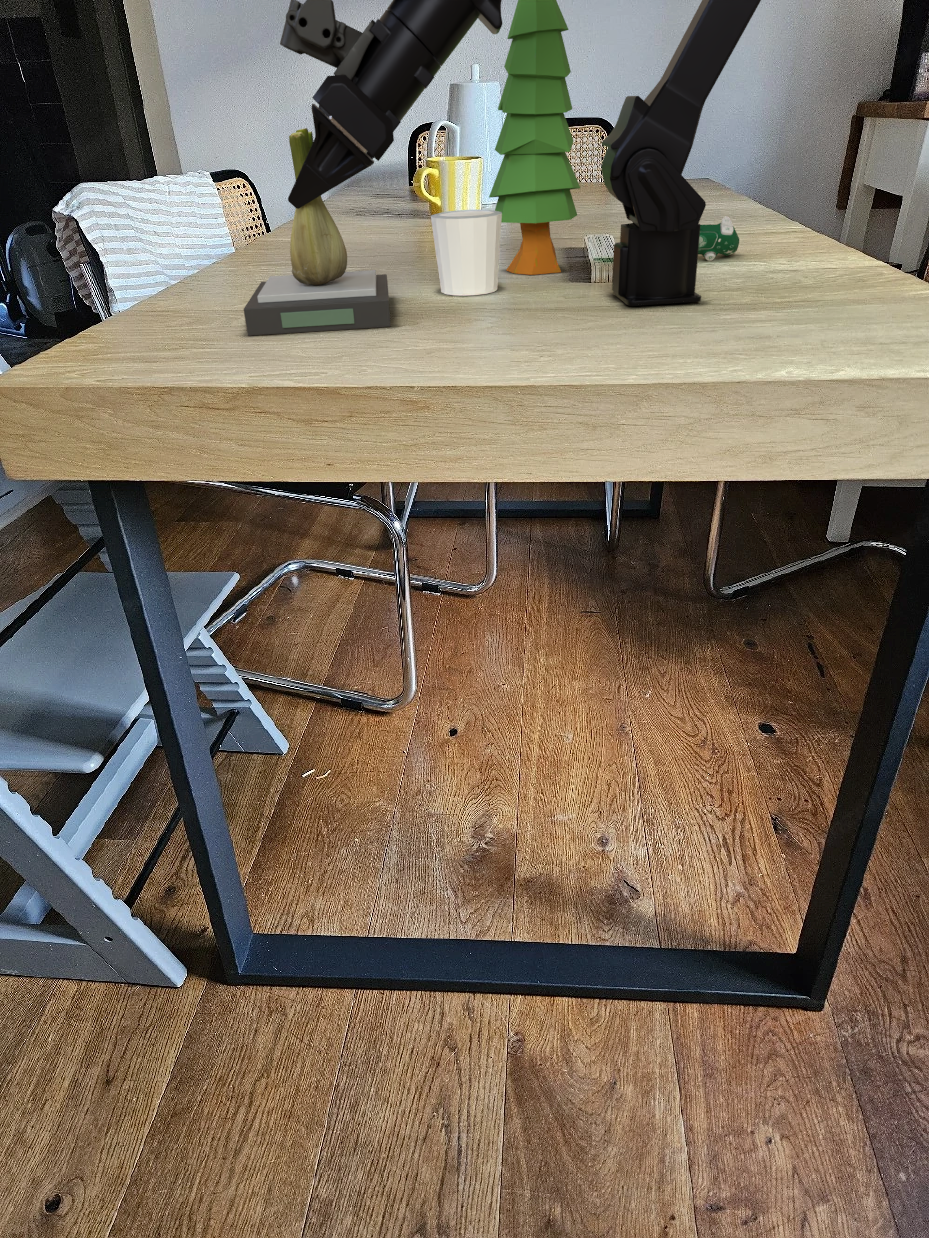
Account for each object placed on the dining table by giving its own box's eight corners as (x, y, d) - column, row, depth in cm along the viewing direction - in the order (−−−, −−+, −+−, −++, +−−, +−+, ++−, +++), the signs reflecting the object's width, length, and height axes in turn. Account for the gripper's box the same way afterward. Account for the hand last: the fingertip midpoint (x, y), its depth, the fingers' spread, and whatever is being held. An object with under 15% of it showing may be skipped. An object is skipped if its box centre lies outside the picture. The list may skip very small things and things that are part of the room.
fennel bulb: (318, 275, 82) (298, 127, 76) (363, 276, 80) (346, 124, 74) (280, 288, 77) (255, 132, 71) (327, 290, 75) (305, 129, 69)
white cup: (497, 296, 84) (495, 216, 81) (427, 297, 86) (422, 218, 82) (509, 283, 90) (507, 207, 86) (443, 284, 91) (439, 209, 88)
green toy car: (651, 276, 100) (654, 241, 94) (652, 246, 101) (656, 210, 95) (736, 274, 98) (744, 239, 93) (736, 245, 99) (745, 208, 94)
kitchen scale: (388, 298, 86) (386, 267, 85) (390, 327, 75) (387, 292, 73) (264, 305, 85) (260, 275, 84) (247, 336, 74) (241, 301, 73)
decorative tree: (512, 280, 92) (506, -87, 76) (476, 268, 99) (464, -68, 84) (594, 270, 95) (604, -85, 79) (553, 259, 102) (555, -67, 87)
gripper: (337, -30, 75) (231, 127, 80) (326, -67, 59) (194, 132, 64) (436, 73, 79) (329, 215, 85) (451, 65, 63) (318, 241, 68)
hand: (295, 201), depth 75 cm, fingers closed on fennel bulb, 6 cm apart
